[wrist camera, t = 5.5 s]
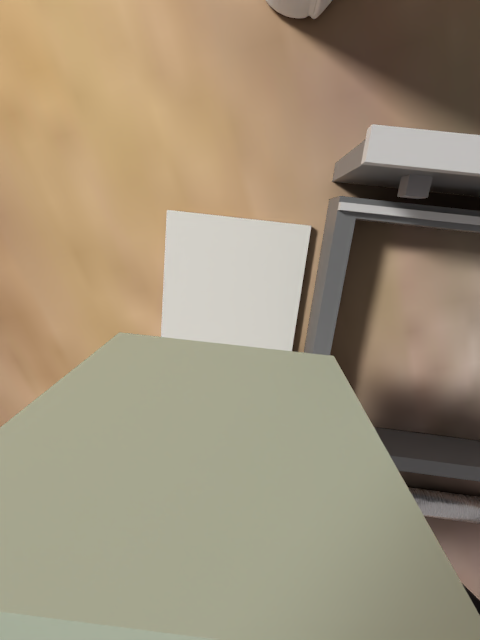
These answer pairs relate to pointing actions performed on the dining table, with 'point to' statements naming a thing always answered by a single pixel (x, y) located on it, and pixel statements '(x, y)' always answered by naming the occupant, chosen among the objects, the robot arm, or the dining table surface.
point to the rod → (447, 505)
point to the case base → (342, 212)
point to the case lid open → (414, 162)
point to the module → (213, 506)
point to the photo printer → (299, 7)
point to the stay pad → (232, 279)
